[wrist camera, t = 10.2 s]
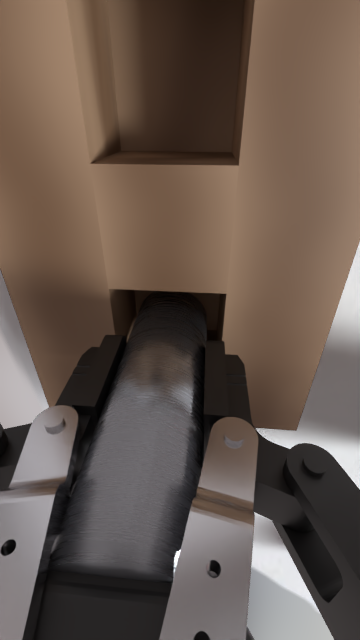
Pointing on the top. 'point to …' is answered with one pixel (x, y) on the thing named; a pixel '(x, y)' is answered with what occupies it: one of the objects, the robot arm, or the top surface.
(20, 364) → the top surface
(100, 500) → the pin
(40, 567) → the robot arm
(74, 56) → the hole block
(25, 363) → the top surface
